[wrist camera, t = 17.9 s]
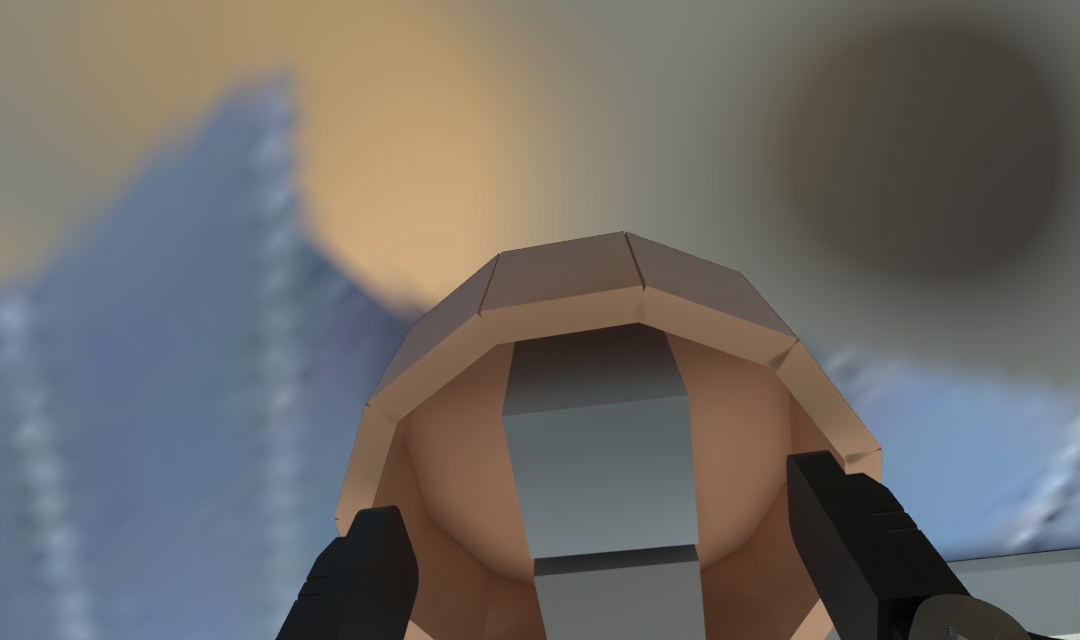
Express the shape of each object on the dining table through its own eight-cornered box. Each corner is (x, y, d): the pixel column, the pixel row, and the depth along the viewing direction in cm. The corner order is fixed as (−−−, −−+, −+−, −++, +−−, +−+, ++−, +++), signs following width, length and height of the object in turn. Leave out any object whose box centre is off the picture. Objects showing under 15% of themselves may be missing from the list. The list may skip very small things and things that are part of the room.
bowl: (447, 612, 22) (419, 737, 18) (338, 279, 17) (265, 346, 13) (812, 572, 21) (874, 698, 17) (804, 200, 16) (888, 245, 12)
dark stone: (559, 570, 20) (557, 689, 16) (540, 471, 19) (533, 576, 15) (680, 558, 20) (708, 677, 16) (670, 456, 18) (699, 561, 14)
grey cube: (538, 455, 18) (530, 558, 14) (516, 337, 17) (501, 416, 13) (670, 441, 18) (699, 543, 14) (659, 318, 17) (688, 394, 13)
